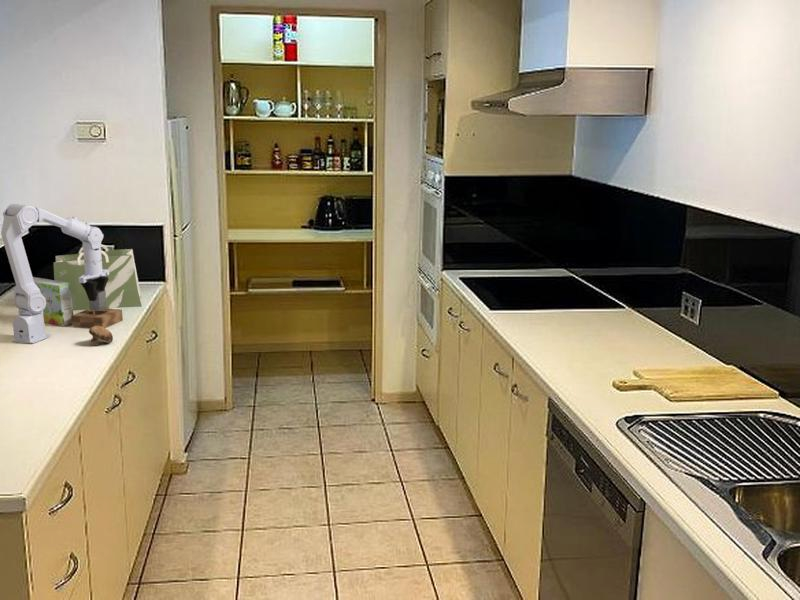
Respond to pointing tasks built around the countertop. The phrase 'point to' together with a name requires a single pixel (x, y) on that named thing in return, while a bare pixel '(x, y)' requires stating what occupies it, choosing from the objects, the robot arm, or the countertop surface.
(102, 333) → the mushroom
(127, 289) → the grocery bag
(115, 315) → the socket block
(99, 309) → the square bit
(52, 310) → the snack box
